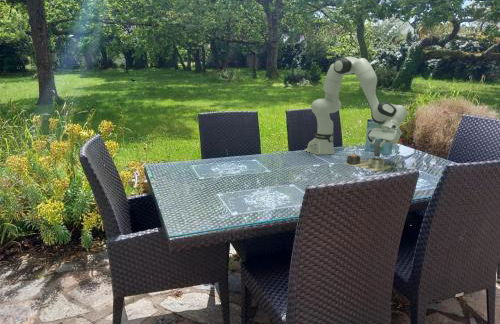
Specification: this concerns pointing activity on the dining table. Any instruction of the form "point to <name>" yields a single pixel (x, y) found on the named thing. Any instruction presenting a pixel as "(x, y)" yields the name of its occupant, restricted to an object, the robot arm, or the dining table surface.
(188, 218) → the dining table surface
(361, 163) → the organiser
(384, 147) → the gum box
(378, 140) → the marker
